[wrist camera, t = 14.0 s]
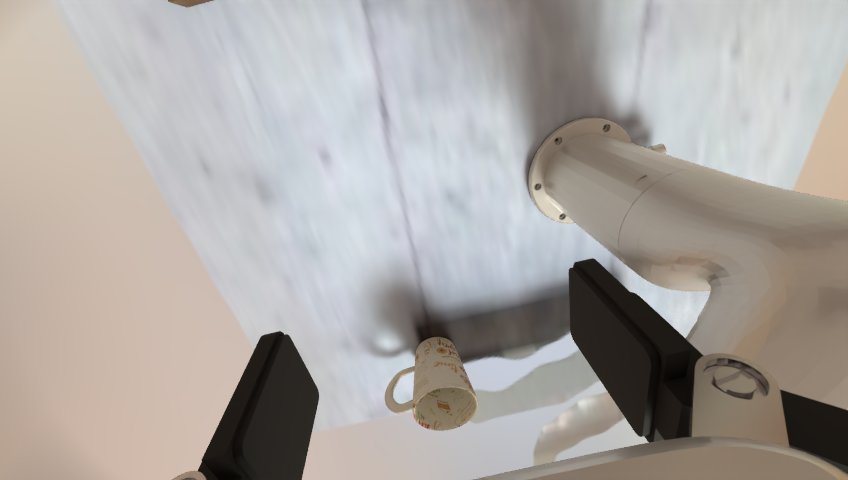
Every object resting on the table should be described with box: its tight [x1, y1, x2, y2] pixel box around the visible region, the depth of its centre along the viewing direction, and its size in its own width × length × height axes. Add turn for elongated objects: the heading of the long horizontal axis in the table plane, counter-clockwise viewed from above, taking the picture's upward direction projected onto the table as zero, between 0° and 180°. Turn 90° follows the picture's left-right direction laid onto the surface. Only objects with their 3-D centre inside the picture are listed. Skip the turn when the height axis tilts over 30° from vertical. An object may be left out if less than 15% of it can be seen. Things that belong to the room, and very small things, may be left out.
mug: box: [385, 337, 478, 431], centre depth 48 cm, size 8×13×10 cm, turn 114°
